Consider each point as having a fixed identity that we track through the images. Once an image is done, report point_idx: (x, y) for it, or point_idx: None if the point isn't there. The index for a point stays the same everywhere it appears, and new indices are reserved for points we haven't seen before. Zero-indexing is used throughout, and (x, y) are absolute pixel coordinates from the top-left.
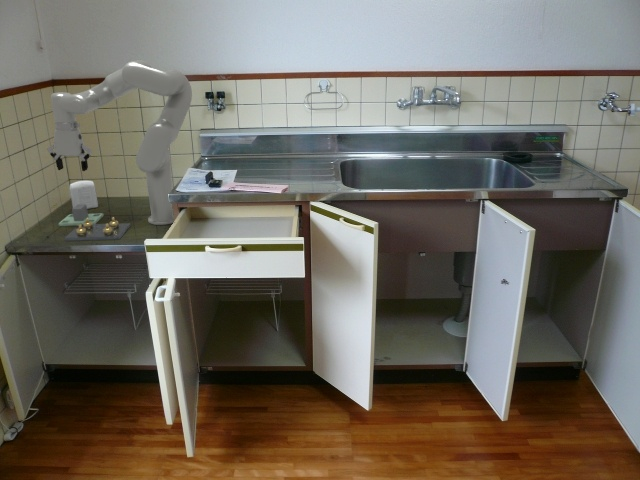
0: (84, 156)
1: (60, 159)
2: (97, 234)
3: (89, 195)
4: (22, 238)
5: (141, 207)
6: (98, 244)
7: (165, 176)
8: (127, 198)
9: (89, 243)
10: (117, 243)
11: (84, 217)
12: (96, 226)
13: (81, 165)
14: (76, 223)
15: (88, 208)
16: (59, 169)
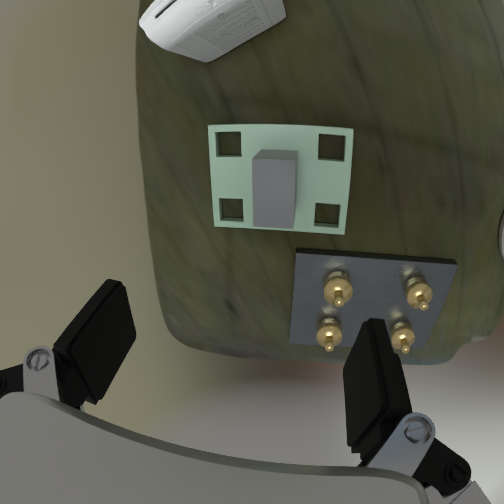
0: (396, 460)
1: (81, 372)
2: None
3: (255, 15)
4: (168, 301)
5: (468, 63)
6: None
7: None
8: None
9: None
10: (415, 359)
11: (296, 192)
12: (361, 278)
13: (346, 412)
14: (279, 229)
15: (253, 36)
16: (133, 339)
